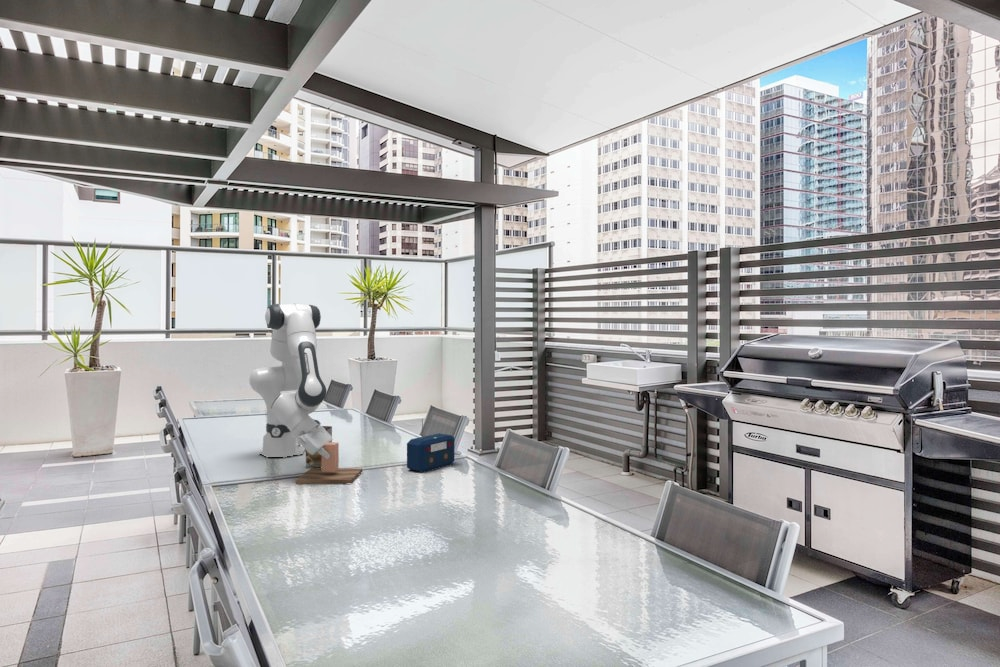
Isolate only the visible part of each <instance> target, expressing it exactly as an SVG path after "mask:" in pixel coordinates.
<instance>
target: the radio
mask: <svg viewBox="0 0 1000 667" xmlns="http://www.w3.org/2000/svg"><path fill="white" fill-rule="evenodd" d="M423 422H424V421H423V419H421V436H419V437H415V438H411V439H410V440H408V442H407V443H406V468H407V469H409V470H410V469H412V470H411V471H414V470H416V471H415V472H419V471H421V472H420V473H424V471H426V472H429V471H432V469H433V470H436V468H437V469H440V468H443V466H444V467H447V466H446V465H448V466H451V465H452V464H454V462H455V436H453V435H451V434H445V433H440V432H439V433H435V434H430V435H425V436H424V430H423V429H424V427H423V426H424V424H423ZM450 464H451V465H450ZM439 467H440V468H439ZM428 470H429V471H428Z"/></svg>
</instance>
